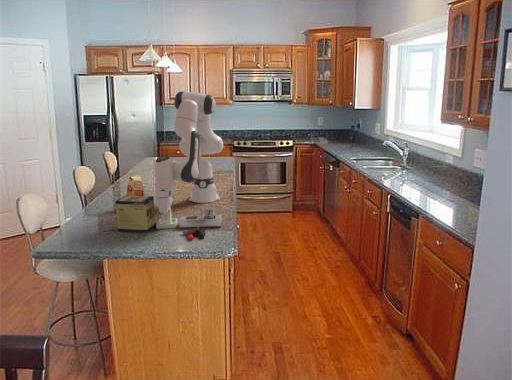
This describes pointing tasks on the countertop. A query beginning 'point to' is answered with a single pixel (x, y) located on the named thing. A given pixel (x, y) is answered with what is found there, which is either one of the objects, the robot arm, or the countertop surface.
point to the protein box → (135, 213)
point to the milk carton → (135, 186)
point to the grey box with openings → (201, 220)
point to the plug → (169, 220)
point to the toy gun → (194, 233)
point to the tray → (173, 225)
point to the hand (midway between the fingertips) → (167, 216)
